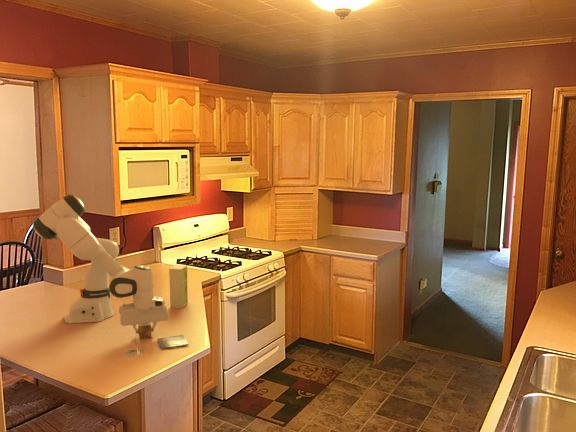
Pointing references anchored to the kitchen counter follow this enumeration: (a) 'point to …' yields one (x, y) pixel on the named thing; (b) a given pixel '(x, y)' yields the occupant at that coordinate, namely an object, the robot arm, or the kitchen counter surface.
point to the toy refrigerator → (178, 286)
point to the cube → (145, 330)
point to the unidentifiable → (135, 352)
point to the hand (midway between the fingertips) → (144, 332)
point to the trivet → (172, 342)
